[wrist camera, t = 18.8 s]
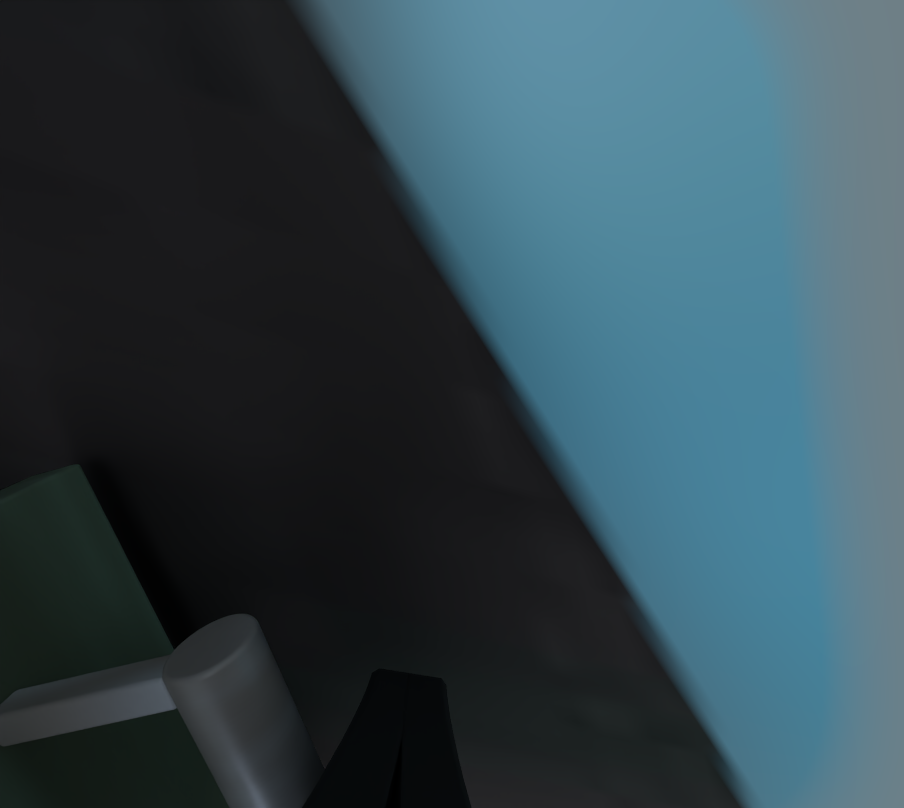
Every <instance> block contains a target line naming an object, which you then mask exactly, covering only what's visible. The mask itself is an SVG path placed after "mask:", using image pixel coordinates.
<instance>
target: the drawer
mask: <svg viewBox="0 0 904 808" xmlns="http://www.w3.org/2000/svg"><path fill="white" fill-rule="evenodd" d="M324 770H325V769H324V767H323V765H322V763H321V760H320V758H319V756H318V754H317V752H316V749H315V747H314V745H313V743H312V740H311V738H310V736H309V734H308V732H307V729H306V727H305V725H304V723H303V720H302V718H301V716H300V714H299V711H298V709H297V707H296V705H295V703H294V700H293V698H292V696H291V694H290V691H289V689H288V687H287V685H286V683H285V680H284V678H283V676H282V674H281V671H280V669H279V667H278V665H277V663H276V660H275V658H274V656H273V654H272V651H271V649H270V647H269V645H268V642H267V640H266V638H265V636H264V634H263V631H262V629H261V627H260V625H259V622H258V621H257V619H256V618H254V617H253V616H251V615H249V614H244V613H240V614H233V615H229V616H226V617H223V618H220V619H218V620H216V621H213V622H211V623H209V624H208V625H206V626H204V627H202V628H201V629H199V630H198V631H196V632H195V633H193V634H192V635H190V636H189V637H188V638H187V639H185V640H184V641H183V642H182V643H181V644H180V645H179V646H178V647H177V648H176V649H175V650H174V649H173V647H172V645H171V643H170V641H169V639H168V637H167V635H166V633H165V631H164V629H163V627H162V625H161V623H160V621H159V619H158V617H157V615H156V613H155V611H154V609H153V607H152V605H151V603H150V601H149V599H148V597H147V595H146V593H145V591H144V590H143V588H142V586H141V584H140V582H139V580H138V578H137V576H136V574H135V572H134V570H133V568H132V566H131V564H130V562H129V560H128V558H127V556H126V554H125V552H124V550H123V548H122V546H121V544H120V542H119V540H118V538H117V536H116V534H115V532H114V531H113V529H112V527H111V525H110V523H109V521H108V519H107V517H106V515H105V513H104V511H103V509H102V507H101V505H100V503H99V501H98V499H97V497H96V495H95V493H94V491H93V489H92V487H91V485H90V483H89V481H88V479H87V477H86V475H85V473H84V472H83V470H82V468H81V466H80V465H78V464H74V465H70V466H66V467H63V468H59V469H56V470H52V471H48V472H45V473H41V474H38V475H34V476H31V477H29V478H27V479H24V480H22V481H20V482H18V483H16V484H13V485H11V486H9V487H7V488H5V489H2V490H0V808H302V807H303V805H304V803H305V802H306V800H307V799H308V797H309V796H310V794H311V792H312V791H313V789H314V788H315V786H316V784H317V783H318V781H319V779H320V777H321V776H322V774H323V772H324Z"/></svg>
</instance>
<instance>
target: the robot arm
mask: <svg viewBox="0 0 904 808" xmlns="http://www.w3.org/2000/svg"><path fill="white" fill-rule="evenodd" d="M302 808H471V805H470V801H469V797H468V794H467V790H466V786H465V783H464V779H463V775H462V771H461V767H460V763H459V759H458V754H457V749H456V745H455V740H454V735H453V730H452V725H451V719H450V713H449V707H448V699H447V689H446V684H445V683H444V681H443V680H442V679H441V678H436V677H429V676H423V675H417V674H410V673H404V672H398V671H392V670H385V669H378V670H376V671H375V672H373V673H372V675H371V678H370V681H369V684H368V687H367V689H366V692H365V694H364V696H363V699H362V701H361V703H360V705H359V707H358V710H357V712H356V714H355V716H354V718H353V720H352V722H351V724H350V725H349V727H348V729H347V731H346V733H345V735H344V737H343V739H342V741H341V743H340V744H339V746H338V748H337V750H336V751H335V753H334V755H333V756H332V758H331V760H330V762H329V763H328V765H327V767H326V769H325V770H324V772H323V774H322V776H321V777H320V779H319V781H318V783H317V784H316V786H315V788H314V789H313V791H312V792H311V794H310V796H309V797H308V799H307V800H306V802H305V803H304V805H303V807H302Z"/></svg>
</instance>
